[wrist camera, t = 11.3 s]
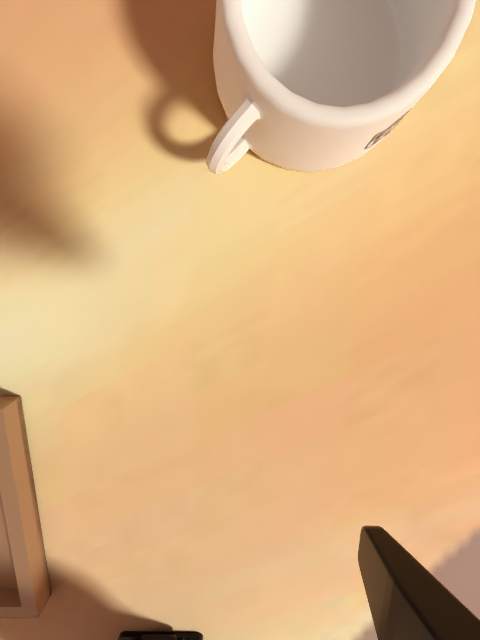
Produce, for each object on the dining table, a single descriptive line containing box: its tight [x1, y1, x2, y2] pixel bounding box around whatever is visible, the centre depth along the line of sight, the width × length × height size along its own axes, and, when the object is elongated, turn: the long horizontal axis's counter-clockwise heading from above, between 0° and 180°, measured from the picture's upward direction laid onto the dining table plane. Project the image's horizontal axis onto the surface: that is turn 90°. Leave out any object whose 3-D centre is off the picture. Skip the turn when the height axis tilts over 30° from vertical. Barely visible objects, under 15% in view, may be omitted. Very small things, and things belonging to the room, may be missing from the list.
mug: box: [206, 0, 476, 175], centre depth 13 cm, size 12×10×6 cm
